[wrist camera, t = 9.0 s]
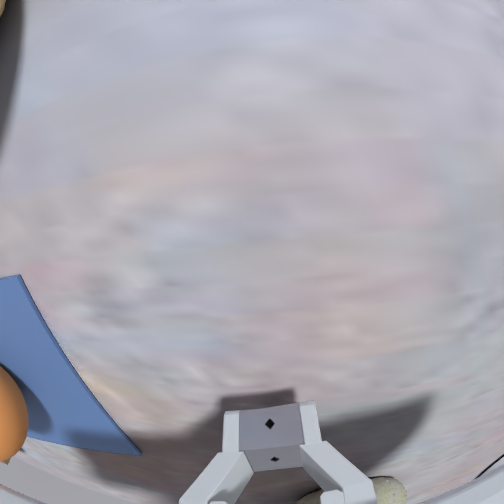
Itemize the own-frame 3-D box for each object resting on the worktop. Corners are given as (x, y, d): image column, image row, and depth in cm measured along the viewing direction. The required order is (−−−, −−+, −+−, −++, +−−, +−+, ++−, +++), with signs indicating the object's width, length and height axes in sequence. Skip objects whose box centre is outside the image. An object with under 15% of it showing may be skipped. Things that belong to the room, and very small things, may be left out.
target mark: (19, 274, 9) (16, 277, 9) (141, 452, 14) (141, 455, 14) (-87, 297, 10) (-88, 298, 10) (9, 429, 15) (8, 431, 15)
